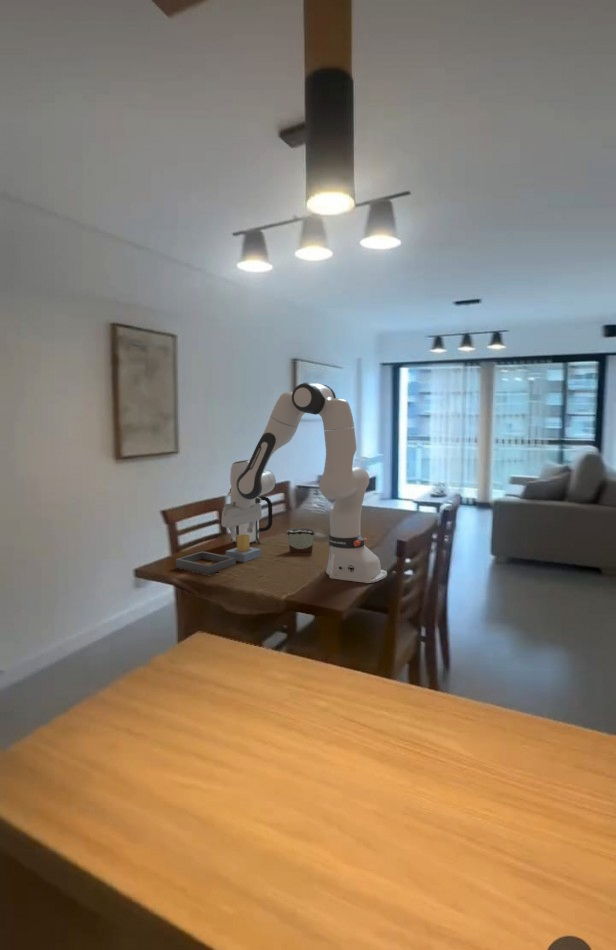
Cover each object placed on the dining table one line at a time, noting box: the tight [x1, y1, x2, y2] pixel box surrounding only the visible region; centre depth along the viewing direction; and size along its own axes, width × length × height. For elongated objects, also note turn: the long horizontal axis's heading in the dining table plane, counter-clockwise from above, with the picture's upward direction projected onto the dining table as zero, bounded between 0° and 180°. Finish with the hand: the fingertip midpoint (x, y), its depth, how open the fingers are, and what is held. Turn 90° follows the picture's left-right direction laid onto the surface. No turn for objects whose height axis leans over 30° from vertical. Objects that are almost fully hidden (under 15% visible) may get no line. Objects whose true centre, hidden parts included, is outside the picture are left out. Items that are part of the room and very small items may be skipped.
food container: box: [285, 527, 316, 554], centre depth 231 cm, size 12×6×10 cm, turn 84°
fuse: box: [236, 534, 251, 552], centre depth 220 cm, size 4×3×9 cm
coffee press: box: [226, 488, 273, 546], centre depth 247 cm, size 17×16×30 cm
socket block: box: [225, 546, 262, 563], centre depth 221 cm, size 10×10×4 cm
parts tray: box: [175, 550, 237, 576], centre depth 211 cm, size 18×14×4 cm
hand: (242, 534), depth 220 cm, fingers open, 8 cm apart
